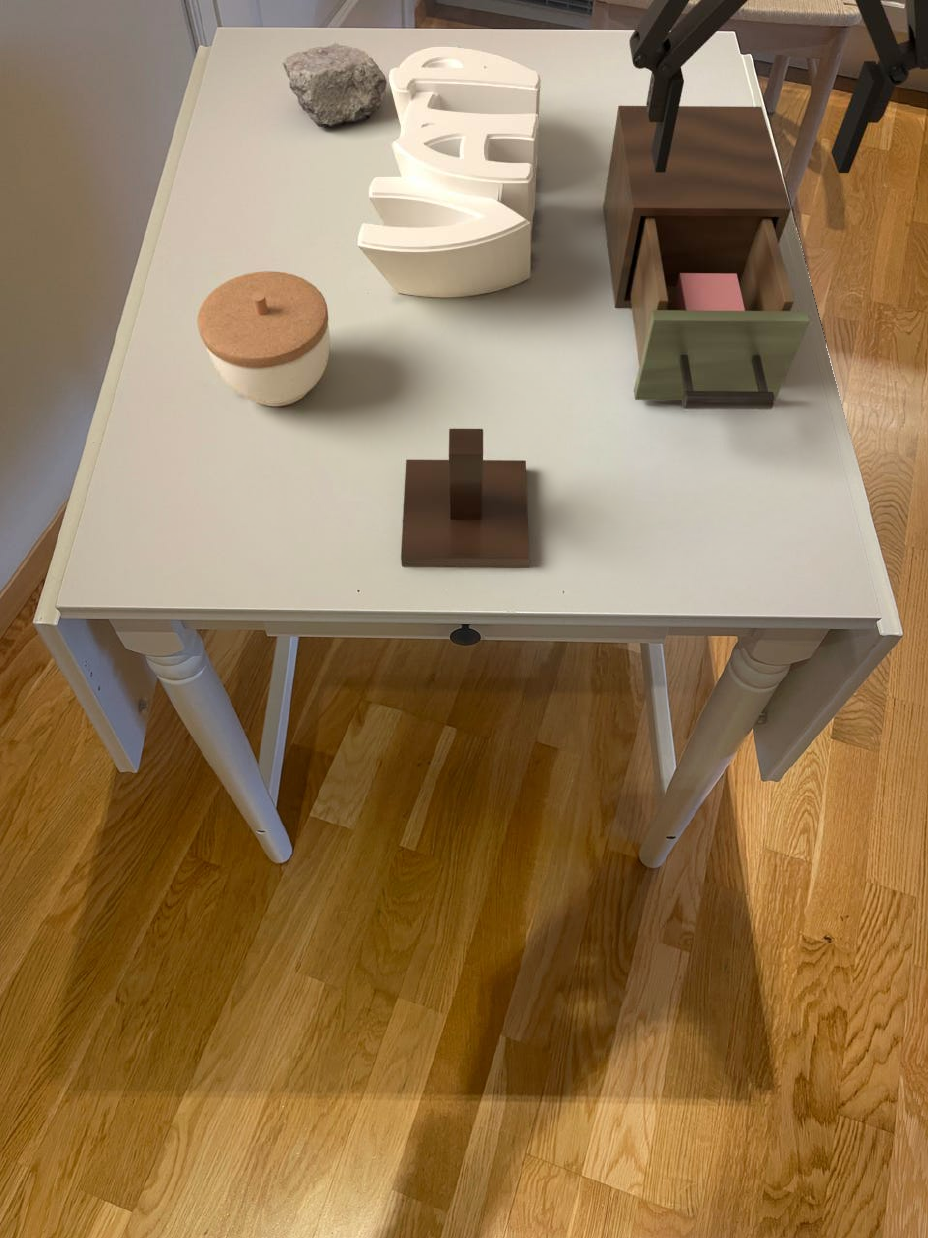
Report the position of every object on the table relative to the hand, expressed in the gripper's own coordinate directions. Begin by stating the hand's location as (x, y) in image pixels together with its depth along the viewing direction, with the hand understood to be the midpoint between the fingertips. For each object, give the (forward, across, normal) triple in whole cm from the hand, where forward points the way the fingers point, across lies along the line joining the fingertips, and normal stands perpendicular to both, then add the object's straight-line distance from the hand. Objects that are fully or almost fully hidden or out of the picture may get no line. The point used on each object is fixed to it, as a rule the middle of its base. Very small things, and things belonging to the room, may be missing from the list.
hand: (748, 162), depth 66 cm
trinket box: (+18, +38, +4) cm, 43 cm away
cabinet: (+18, 0, -14) cm, 23 cm away
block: (+16, 0, 0) cm, 16 cm away
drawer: (+17, 0, +3) cm, 18 cm away
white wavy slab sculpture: (+18, +22, -20) cm, 35 cm away
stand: (+18, +21, +19) cm, 34 cm away
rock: (+18, +36, -39) cm, 56 cm away
